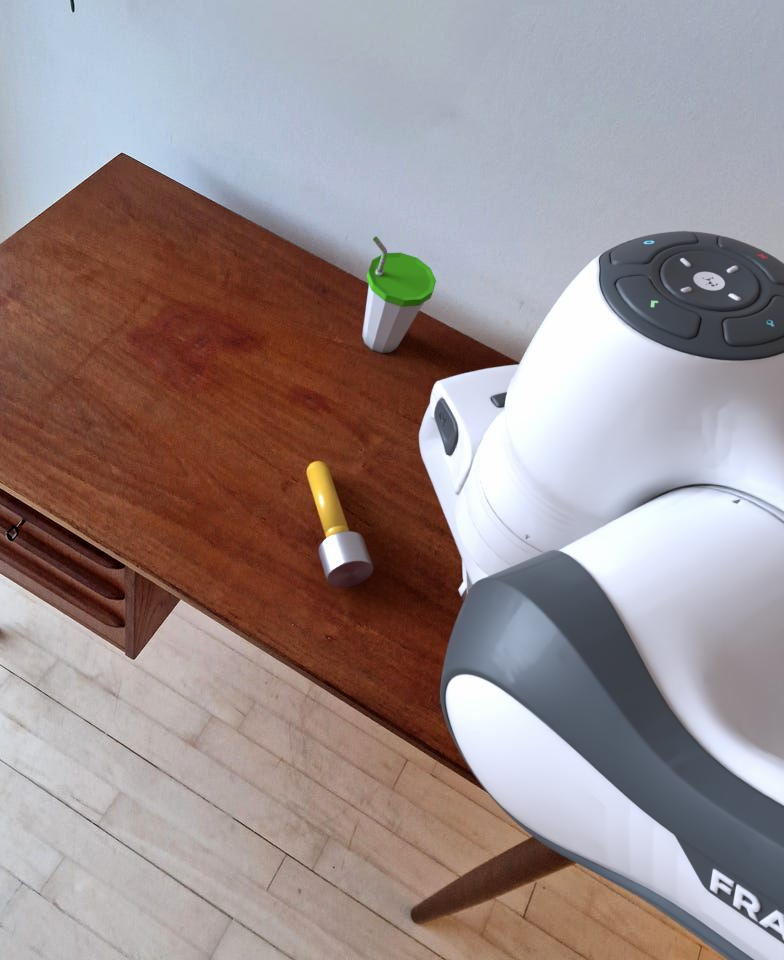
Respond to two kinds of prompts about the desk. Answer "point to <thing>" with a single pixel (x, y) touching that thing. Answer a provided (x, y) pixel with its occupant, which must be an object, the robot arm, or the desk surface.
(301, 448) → the desk surface
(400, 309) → the cup
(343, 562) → the yellow lever knob
